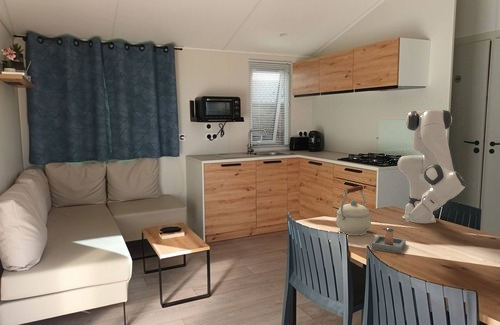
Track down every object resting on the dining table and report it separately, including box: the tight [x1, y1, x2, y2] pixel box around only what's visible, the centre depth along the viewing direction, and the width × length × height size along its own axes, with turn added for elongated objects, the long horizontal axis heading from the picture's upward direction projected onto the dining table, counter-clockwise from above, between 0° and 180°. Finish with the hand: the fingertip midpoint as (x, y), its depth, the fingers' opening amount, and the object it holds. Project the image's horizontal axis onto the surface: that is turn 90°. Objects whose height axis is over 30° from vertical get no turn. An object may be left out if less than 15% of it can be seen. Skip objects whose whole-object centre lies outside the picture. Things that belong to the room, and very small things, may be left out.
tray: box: [371, 234, 407, 254], centre depth 183 cm, size 13×13×2 cm
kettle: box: [335, 185, 372, 237], centre depth 206 cm, size 25×18×25 cm
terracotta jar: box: [384, 227, 395, 246], centre depth 183 cm, size 4×4×8 cm
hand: (407, 218), depth 177 cm, fingers open, 8 cm apart
